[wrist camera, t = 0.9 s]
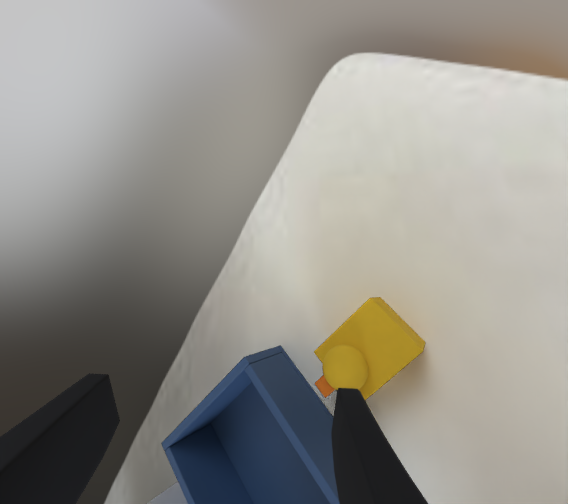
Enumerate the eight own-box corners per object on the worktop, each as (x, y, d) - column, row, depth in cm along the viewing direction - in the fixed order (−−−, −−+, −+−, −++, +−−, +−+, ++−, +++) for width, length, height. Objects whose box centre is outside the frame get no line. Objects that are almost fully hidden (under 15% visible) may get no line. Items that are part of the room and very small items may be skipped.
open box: (407, 517, 18) (397, 589, 14) (299, 591, 20) (261, 671, 16) (280, 345, 24) (244, 356, 19) (207, 418, 26) (160, 443, 22)
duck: (425, 342, 19) (421, 359, 14) (361, 397, 20) (336, 430, 15) (379, 296, 20) (361, 297, 16) (323, 350, 22) (290, 366, 17)
